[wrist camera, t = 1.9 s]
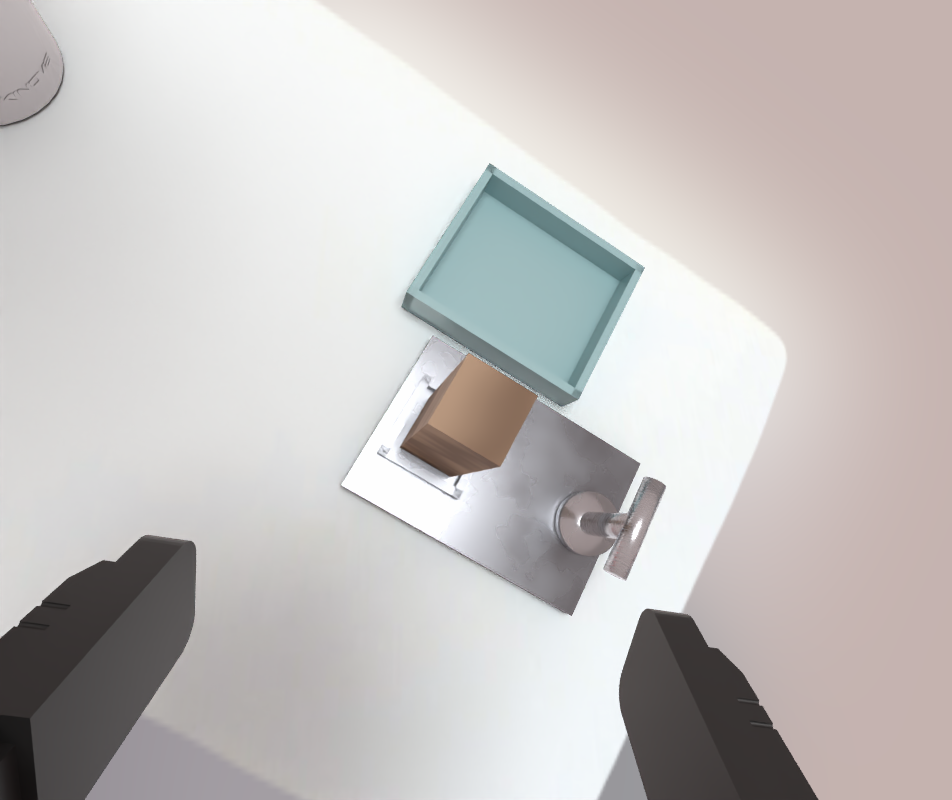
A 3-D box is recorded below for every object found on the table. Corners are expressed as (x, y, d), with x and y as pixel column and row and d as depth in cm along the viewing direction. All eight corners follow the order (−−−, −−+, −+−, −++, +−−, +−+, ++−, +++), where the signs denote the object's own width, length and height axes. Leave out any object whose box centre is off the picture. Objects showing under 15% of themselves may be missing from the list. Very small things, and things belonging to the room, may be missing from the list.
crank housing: (341, 485, 37) (342, 480, 28) (430, 340, 40) (455, 296, 32) (567, 613, 39) (631, 645, 30) (634, 465, 42) (709, 457, 34)
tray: (401, 306, 40) (406, 292, 37) (479, 185, 43) (489, 163, 40) (561, 406, 42) (578, 399, 39) (625, 282, 45) (644, 267, 42)
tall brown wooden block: (399, 447, 37) (427, 423, 26) (429, 397, 38) (468, 352, 27) (450, 477, 37) (500, 466, 26) (478, 427, 39) (537, 395, 27)
